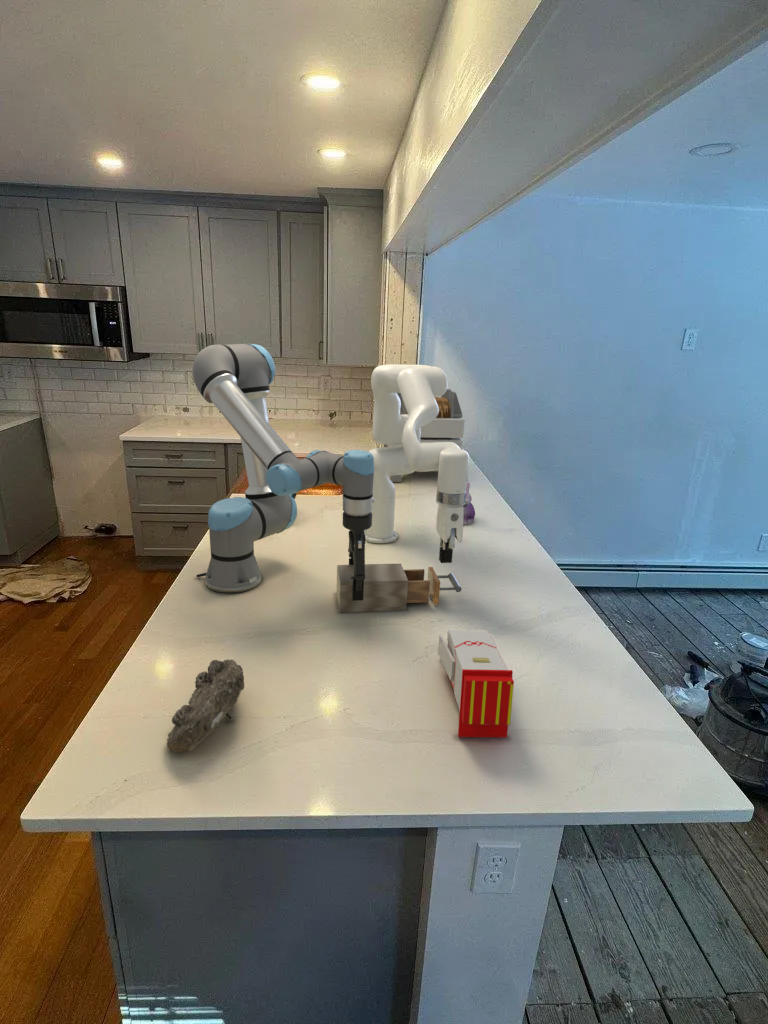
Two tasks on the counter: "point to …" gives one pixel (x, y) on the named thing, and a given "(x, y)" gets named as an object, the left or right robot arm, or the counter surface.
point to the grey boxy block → (373, 588)
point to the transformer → (439, 424)
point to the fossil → (206, 705)
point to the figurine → (468, 508)
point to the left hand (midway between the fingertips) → (355, 589)
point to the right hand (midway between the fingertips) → (445, 561)
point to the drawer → (427, 585)
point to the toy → (478, 682)
